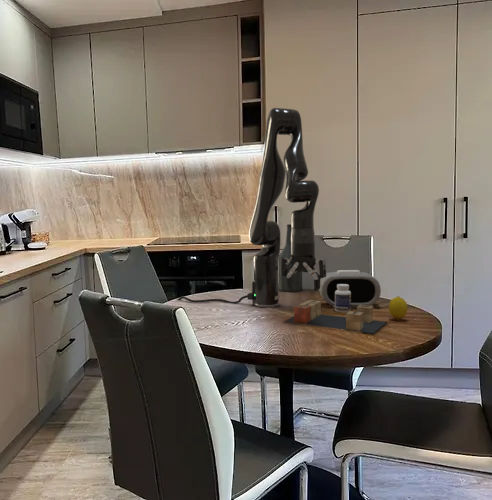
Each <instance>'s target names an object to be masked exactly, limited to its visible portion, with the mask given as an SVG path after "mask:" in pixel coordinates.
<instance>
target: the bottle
mask: <svg viewBox="0 0 492 500" xmlns="http://www.w3.org/2000/svg"><path fill="white" fill-rule="evenodd" d="M285 237H286V238H285V245H284V246H283V248H282V250H281V251H280V254H279V257H278V291H280V292H284V293H299V292H301V291H303V272H298V271H297V272H296V273H295V274H294V275H293V277H292V278H293V285H294V288H293V289H289V287H288V286H287V277H285V276H282V275H281V273H282V259H284V258H288V259H291V223H289V224H286V236H285ZM292 267H293V266H292V264H291V263H289V265H288V273H289V272H290V270H291V269H292Z"/></svg>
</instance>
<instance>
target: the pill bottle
mask: <svg viewBox="0 0 492 500" xmlns="http://www.w3.org/2000/svg"><path fill="white" fill-rule="evenodd" d="M337 289H338V290H336V291H335V308H334V311H335V312H339V313H345V314H346V313H348V312H350V311H352V308H351V292H350V291H349V290H348V289H349V285H347V284H337Z"/></svg>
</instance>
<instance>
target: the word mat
mask: <svg viewBox="0 0 492 500" xmlns="http://www.w3.org/2000/svg"><path fill="white" fill-rule="evenodd" d="M284 322H285V323H291V324H299V325H305V326H314V327H321V328H328V329H337V330H343V331H353V332H357V331H356V330H349V329H346V316H341V315H340V316H339V315H331V314H322V313H321V315H320V316H318V317H316V318H315V319H313V320H310V321H309V322H308V323H298V322H294V316H292V317H291V318H289V319H287V320H284ZM387 323H388V322H387V321H382V320H374V319H373V321H372V322H371V323H364V322H363V329H361V330H360V331H358V333H361V334H368V335H375V333H377V332H378V331H379V330H381V328H383V327H384V326H385V325H387Z"/></svg>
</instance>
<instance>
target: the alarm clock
mask: <svg viewBox="0 0 492 500" xmlns="http://www.w3.org/2000/svg"><path fill="white" fill-rule="evenodd" d="M337 284H347V285H349V289H348V290H349V291H350V292H351V309H357V307H358V306H359V305H369V306H374V305H375V304H376V303H378V301H379V300H380V297H381V293H382V289H381V284H380V282H379V281H378V279H377V278H375V276H373V275H372V274H370V273H368V272H364V271H360V270H359V269H340V270H339V269H338V270H337V271H332V272H331V271H330V272H326V277H324V278H321V279H320V289H319V290H318V292H319V295H320V296H321V298H322V300H323V301H324V302H325V303H326V304H328V305H329V306H332V307H333V308H334V309H335V291H336V290H338V289H337Z"/></svg>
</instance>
